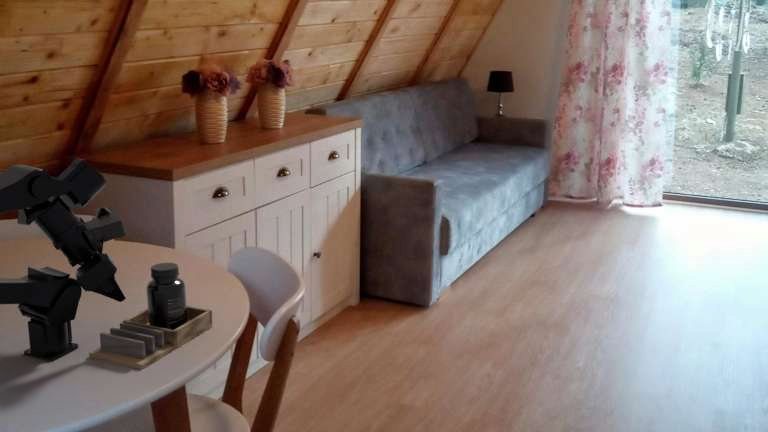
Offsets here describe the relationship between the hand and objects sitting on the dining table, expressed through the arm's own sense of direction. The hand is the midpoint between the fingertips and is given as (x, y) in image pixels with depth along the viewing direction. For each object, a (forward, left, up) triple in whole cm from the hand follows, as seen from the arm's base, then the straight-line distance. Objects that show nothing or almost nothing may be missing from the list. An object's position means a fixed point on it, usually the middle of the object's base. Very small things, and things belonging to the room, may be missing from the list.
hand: (118, 289), depth 149 cm
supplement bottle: (+5, -7, -8) cm, 12 cm away
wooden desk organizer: (0, -7, -9) cm, 11 cm away
